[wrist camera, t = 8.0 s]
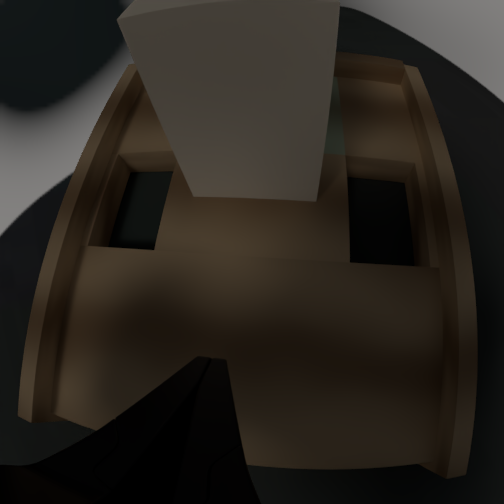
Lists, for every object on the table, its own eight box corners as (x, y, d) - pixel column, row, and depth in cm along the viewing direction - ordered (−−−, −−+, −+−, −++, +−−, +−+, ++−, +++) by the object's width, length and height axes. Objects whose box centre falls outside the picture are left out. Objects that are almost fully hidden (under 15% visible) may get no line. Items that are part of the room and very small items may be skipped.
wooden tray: (432, 460, 12) (465, 474, 8) (58, 414, 14) (17, 416, 11) (404, 98, 20) (415, 63, 17) (145, 93, 23) (131, 60, 19)
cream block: (316, 201, 15) (340, 2, 6) (193, 196, 16) (116, 19, 7) (314, 103, 18) (320, -52, 9) (216, 102, 18) (181, -44, 9)
